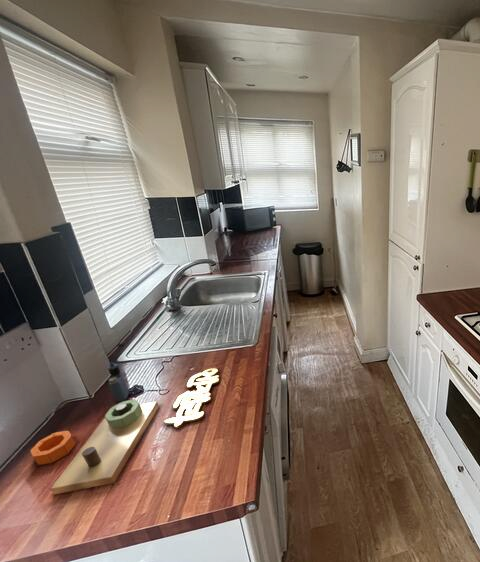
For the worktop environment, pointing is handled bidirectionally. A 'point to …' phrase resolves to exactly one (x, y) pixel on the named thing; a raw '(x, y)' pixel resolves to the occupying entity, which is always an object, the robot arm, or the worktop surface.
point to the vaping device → (117, 383)
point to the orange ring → (43, 446)
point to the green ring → (124, 419)
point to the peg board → (104, 452)
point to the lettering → (194, 398)
